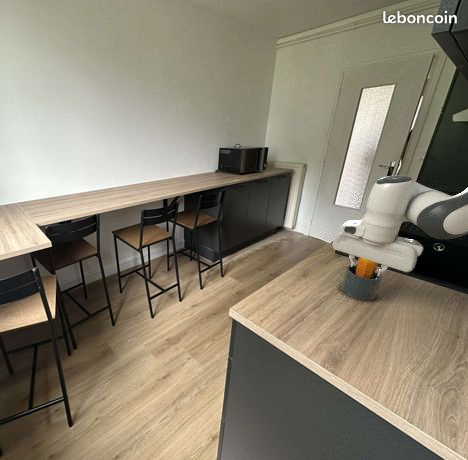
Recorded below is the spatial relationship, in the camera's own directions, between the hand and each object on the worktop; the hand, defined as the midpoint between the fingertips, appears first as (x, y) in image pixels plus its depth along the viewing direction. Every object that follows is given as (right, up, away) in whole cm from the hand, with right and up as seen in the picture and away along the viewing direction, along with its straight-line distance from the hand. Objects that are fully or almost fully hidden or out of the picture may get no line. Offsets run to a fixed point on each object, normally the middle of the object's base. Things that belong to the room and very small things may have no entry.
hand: (364, 271), depth 80 cm
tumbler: (0, -8, +3) cm, 8 cm away
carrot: (0, -6, +2) cm, 6 cm away
